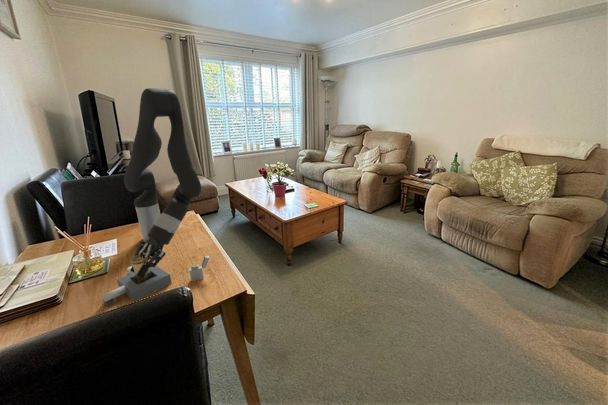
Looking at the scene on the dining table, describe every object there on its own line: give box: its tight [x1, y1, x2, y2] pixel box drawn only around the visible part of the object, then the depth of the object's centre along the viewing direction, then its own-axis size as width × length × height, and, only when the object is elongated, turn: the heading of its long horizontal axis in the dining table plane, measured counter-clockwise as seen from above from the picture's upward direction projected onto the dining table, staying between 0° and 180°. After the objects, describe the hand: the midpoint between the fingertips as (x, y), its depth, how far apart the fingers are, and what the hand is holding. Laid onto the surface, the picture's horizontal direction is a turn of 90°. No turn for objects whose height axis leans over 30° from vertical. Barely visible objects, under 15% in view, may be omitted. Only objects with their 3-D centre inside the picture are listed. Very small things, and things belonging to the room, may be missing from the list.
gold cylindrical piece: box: [130, 254, 152, 285], centre depth 91 cm, size 5×5×10 cm
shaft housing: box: [101, 265, 172, 307], centre depth 91 cm, size 17×18×4 cm
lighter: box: [188, 255, 210, 282], centre depth 95 cm, size 7×2×8 cm, turn 115°
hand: (136, 273), depth 90 cm, fingers closed on gold cylindrical piece, 4 cm apart
